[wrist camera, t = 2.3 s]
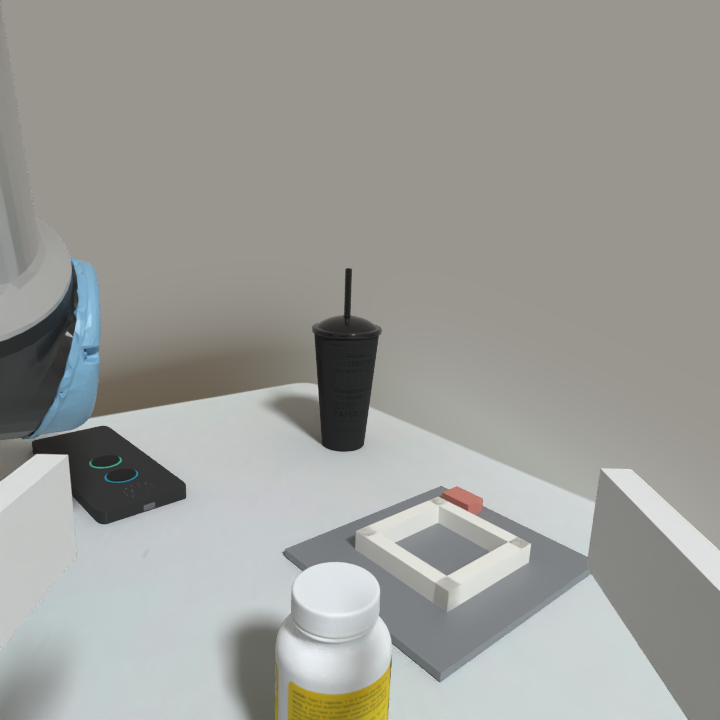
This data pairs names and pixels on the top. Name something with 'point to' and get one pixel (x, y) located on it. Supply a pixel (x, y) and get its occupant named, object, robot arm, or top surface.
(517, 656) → the top surface
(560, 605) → the top surface
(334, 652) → the supplement bottle
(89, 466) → the smart home device
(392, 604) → the socket board
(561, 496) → the top surface
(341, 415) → the drinking cup
